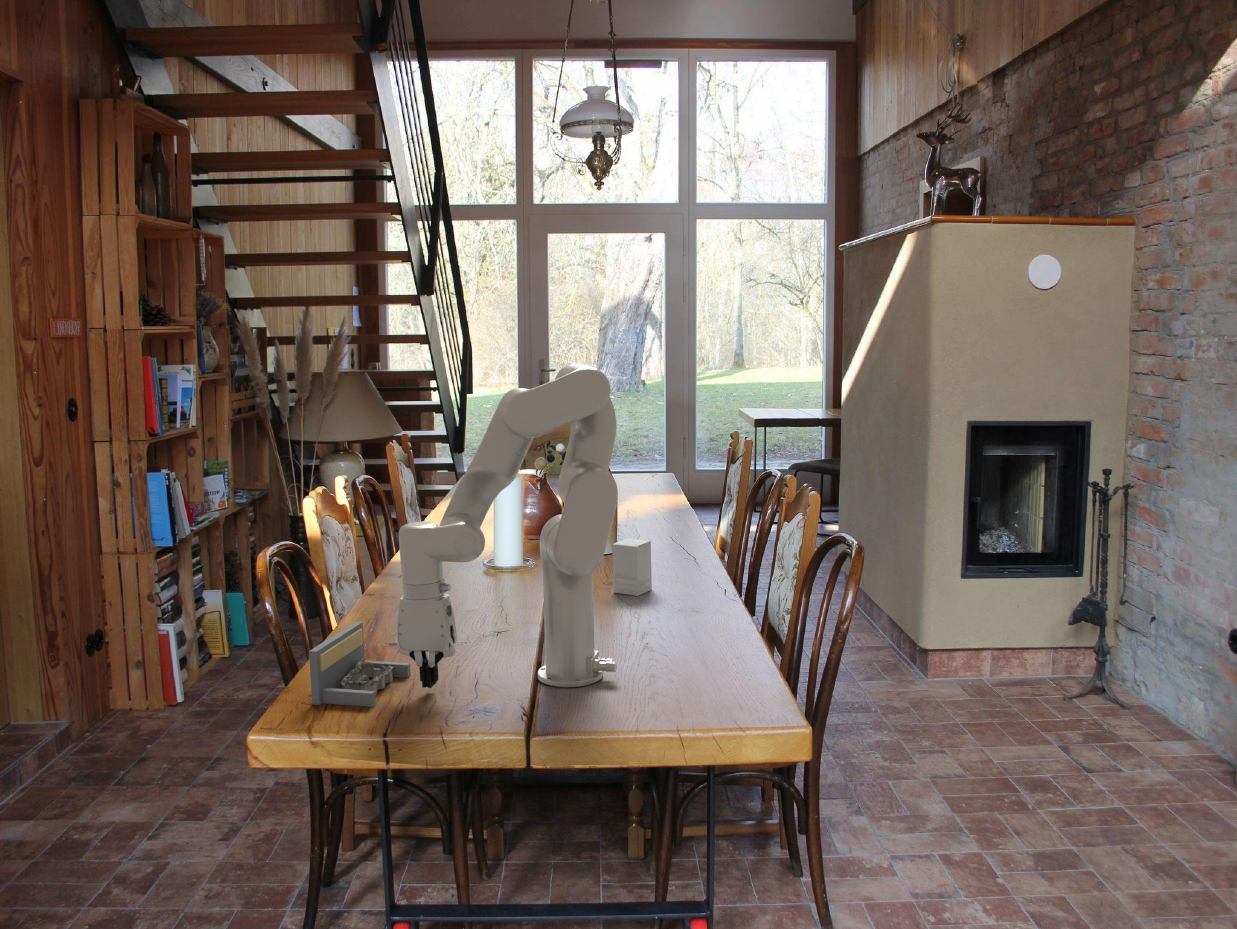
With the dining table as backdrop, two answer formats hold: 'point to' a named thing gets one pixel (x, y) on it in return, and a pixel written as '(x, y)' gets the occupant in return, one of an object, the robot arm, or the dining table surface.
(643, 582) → the supplement box
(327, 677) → the display stand
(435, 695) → the dining table surface
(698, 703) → the dining table surface
